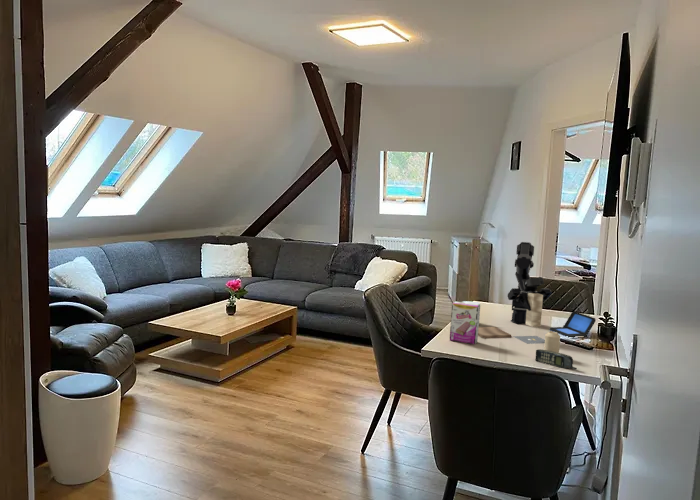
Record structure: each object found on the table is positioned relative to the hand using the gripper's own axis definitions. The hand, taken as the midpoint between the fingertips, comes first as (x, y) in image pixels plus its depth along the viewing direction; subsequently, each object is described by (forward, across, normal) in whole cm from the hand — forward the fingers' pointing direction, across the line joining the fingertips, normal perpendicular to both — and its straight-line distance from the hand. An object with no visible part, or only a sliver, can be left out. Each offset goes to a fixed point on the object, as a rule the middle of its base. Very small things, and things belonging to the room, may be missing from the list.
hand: (535, 310), depth 232 cm
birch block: (+4, 0, +6) cm, 7 cm away
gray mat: (+9, 0, +10) cm, 13 cm away
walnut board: (+1, -15, +18) cm, 23 cm away
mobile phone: (+33, -10, -14) cm, 37 cm away
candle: (+26, -5, -7) cm, 27 cm away
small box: (-12, -16, +31) cm, 37 cm away
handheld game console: (+2, +26, +18) cm, 31 cm away
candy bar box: (+10, -32, +9) cm, 35 cm away
